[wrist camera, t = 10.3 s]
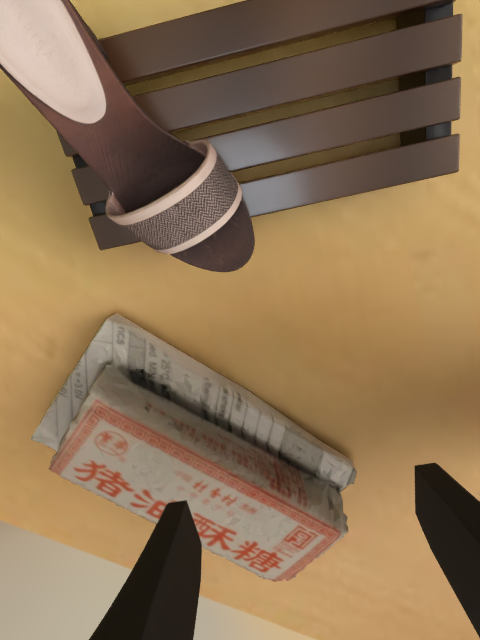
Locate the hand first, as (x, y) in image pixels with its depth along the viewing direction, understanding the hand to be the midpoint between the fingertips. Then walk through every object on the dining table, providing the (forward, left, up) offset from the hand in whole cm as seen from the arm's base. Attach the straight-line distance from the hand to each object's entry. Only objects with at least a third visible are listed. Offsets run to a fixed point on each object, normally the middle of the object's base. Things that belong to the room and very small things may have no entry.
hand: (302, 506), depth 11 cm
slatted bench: (-1, -12, -10) cm, 15 cm away
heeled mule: (+3, -11, -7) cm, 14 cm away
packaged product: (+6, +5, -10) cm, 13 cm away
